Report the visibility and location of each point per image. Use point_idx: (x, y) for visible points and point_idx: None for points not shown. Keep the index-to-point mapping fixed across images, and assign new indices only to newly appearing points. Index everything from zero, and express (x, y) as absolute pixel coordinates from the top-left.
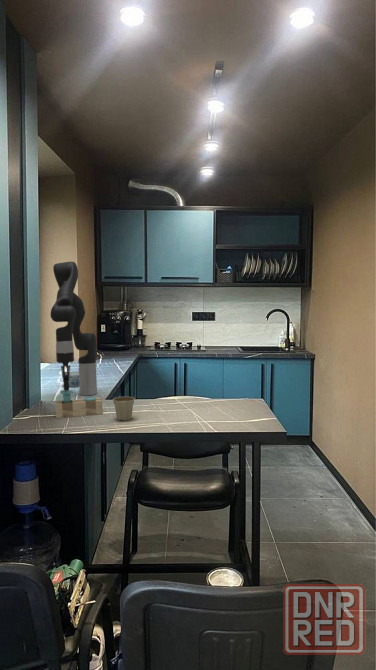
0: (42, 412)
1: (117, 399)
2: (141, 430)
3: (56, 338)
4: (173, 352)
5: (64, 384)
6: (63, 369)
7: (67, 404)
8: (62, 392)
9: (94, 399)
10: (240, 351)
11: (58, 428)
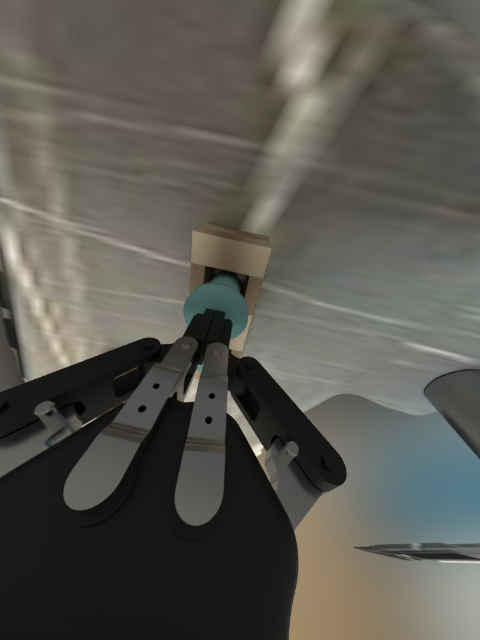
0: (343, 186)
1: (127, 399)
2: (39, 360)
3: None
4: None
5: (196, 331)
6: (30, 460)
7: (191, 282)
8: (194, 291)
9: (197, 367)
10: (458, 552)
11: (55, 197)
